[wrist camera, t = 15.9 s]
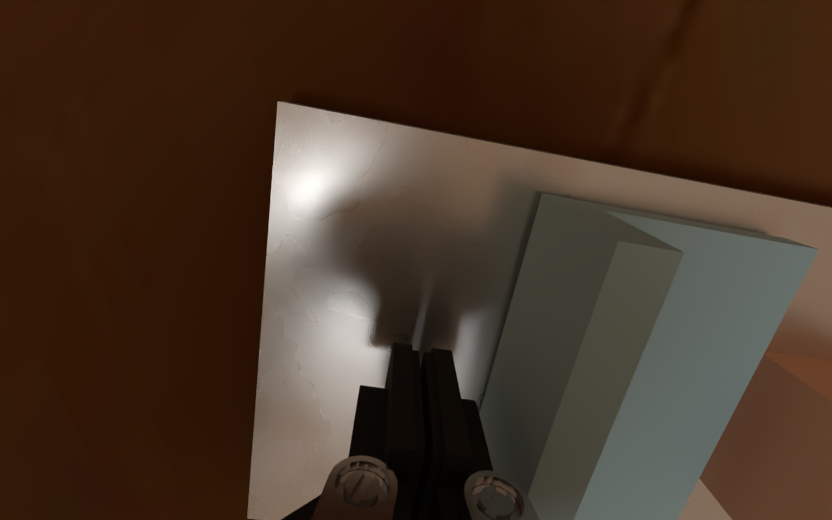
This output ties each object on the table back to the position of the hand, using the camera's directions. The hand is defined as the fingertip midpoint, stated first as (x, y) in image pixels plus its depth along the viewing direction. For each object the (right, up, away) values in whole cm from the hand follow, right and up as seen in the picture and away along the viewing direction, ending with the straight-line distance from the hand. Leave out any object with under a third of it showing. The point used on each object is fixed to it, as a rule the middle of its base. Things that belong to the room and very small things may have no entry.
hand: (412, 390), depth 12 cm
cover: (+6, -1, +1) cm, 6 cm away
